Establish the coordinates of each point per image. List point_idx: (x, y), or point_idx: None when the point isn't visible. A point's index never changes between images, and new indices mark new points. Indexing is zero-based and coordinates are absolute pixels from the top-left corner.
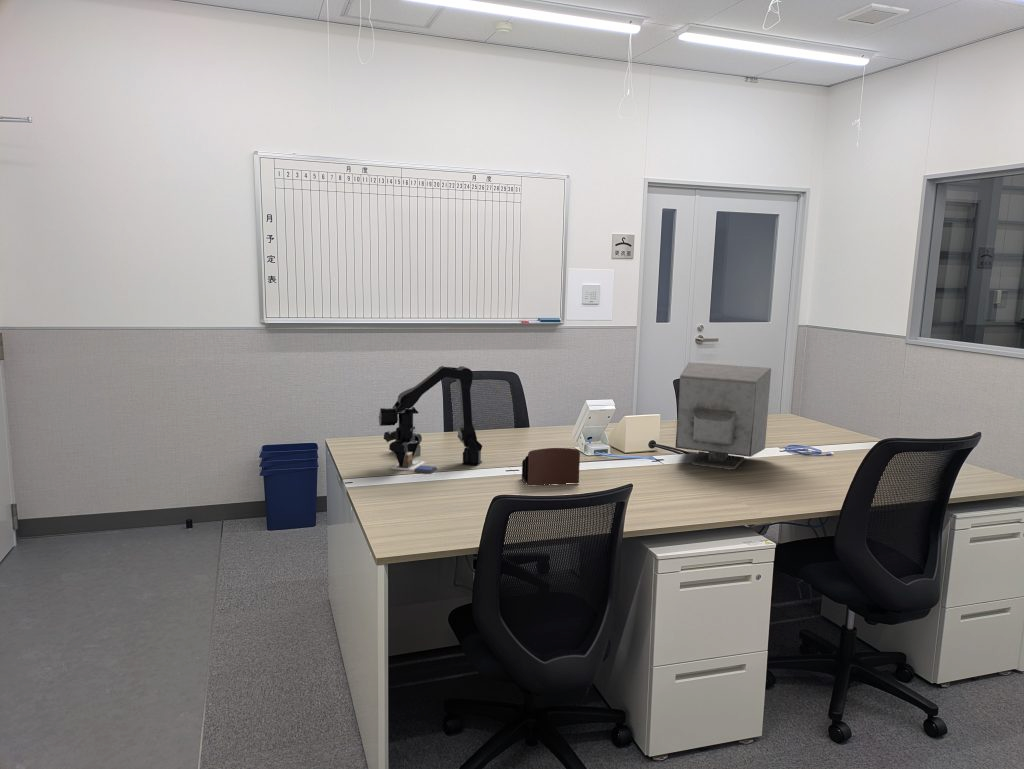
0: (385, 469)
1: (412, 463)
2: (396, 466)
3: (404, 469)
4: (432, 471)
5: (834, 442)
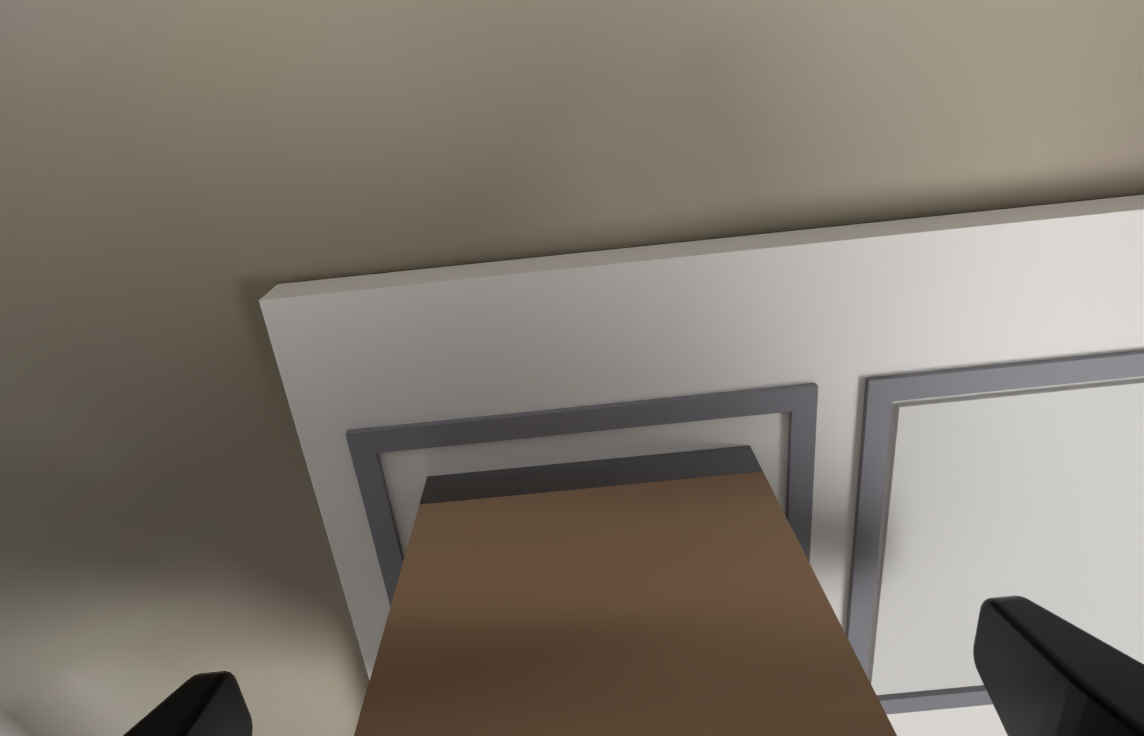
0: (89, 126)
1: (936, 612)
2: (442, 384)
3: (369, 647)
4: None
5: None
